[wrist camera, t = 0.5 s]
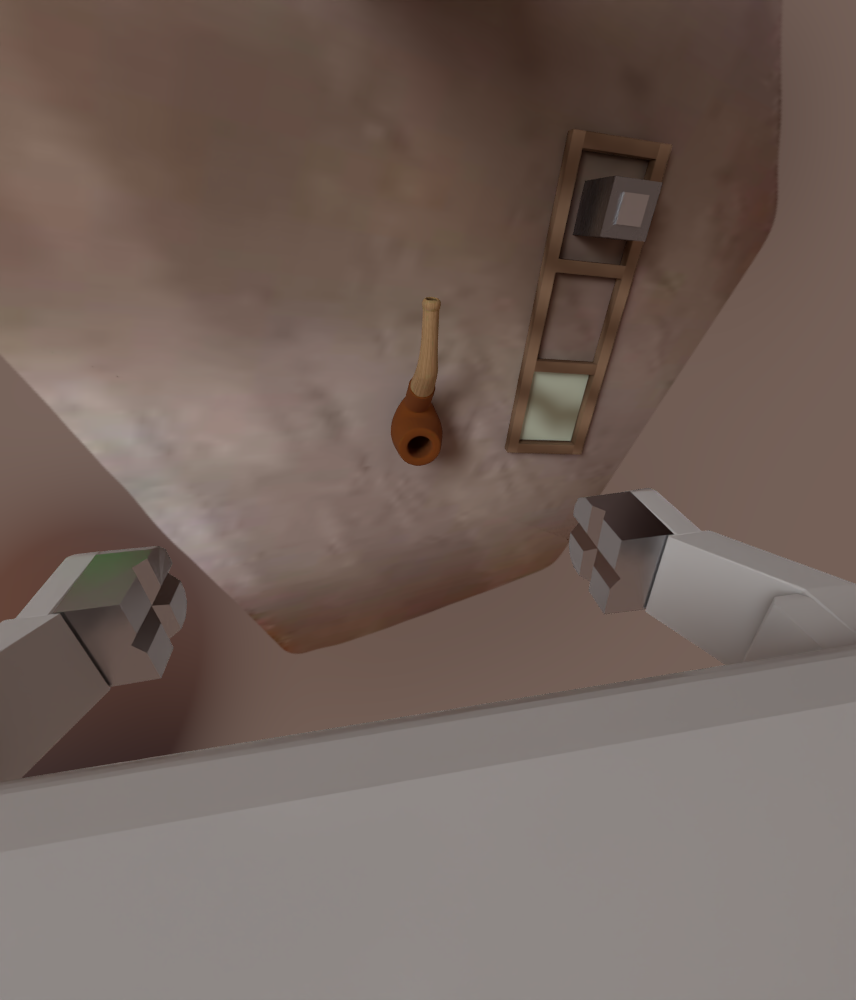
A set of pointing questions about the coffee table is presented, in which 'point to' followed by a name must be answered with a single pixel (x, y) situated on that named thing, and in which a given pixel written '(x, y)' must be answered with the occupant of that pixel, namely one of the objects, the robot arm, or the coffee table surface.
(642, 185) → the gray rectangular block
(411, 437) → the smoking pipe
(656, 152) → the divided wooden frame
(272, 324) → the coffee table surface
